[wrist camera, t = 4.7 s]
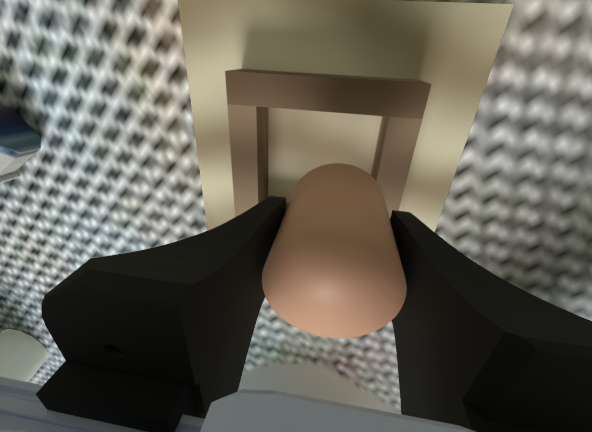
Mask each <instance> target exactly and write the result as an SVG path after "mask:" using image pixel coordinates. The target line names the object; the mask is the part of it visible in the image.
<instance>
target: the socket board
mask: <svg viewBox="0 0 592 432" xmlns="http://www.w3.org/2000/svg"><path fill="white" fill-rule="evenodd" d="M178 4H179V12H180V20H181V28H182V36H183V43H184V51H185V59H186V67H187V74H188V82H189V90H190V98H191V105H192V113H193V121H194V129H195V136H196V144H197V152H198V160H199V167H200V175H201V183H202V191H203V198H204V206H205V214H206V222H207V229H208V230H210V229H213V228H215V227H217V226H219V225H222V224H224V223H226V222H227V221H229V220H231V219H233V218H235V217H237V216H238V215H240V214H242V213H244V212H245V211H247V210H249V209H250V208H252V207H253V206H255V205H257V204H258V203H260V202H261V201H263V200H264V199H266V198H268V197H270V196H277V197H285V198H286V209H287V206H288V204H289V201H290V199H291V196H292V193H293V191H294V189H295V187H296V185H297V183H298V182H299V181H300V179H301V178H302V177H303V176H304V175H305V174H307V173H308V172H310V171H311V170H313V169H315V168H317V167H319V166H322V165H326V164H333V163H343V164H349V165H353V166H356V167H358V168H360V169H362V170H364V171H366V172H367V173H369V174H370V175H371V176H372V177H373V178H374V179H375V180H376V181H377V183H378V184H379V186H380V188H381V190H382V192H383V195H384V199H385V203H386V206H387V210H388V214H389V218H390V217H391V213H392V210H397V211H405V212H410V213H412V214H413V215H414V216H416V217H417V218H418V219H419V220H420V221H422V222H423V223H424V224H425V225H426V226H428V227H429V228H430V229H431V230H432V231H434V232H435V229H436V226H437V223H438V221H439V218H440V215H441V212H442V209H443V206H444V203H445V200H446V198H447V195H448V192H449V189H450V186H451V183H452V180H453V177H454V175H455V172H456V169H457V166H458V163H459V160H460V157H461V154H462V152H463V149H464V146H465V143H466V140H467V137H468V134H469V131H470V129H471V126H472V123H473V120H474V117H475V114H476V111H477V108H478V106H479V103H480V100H481V97H482V94H483V91H484V88H485V86H486V83H487V80H488V77H489V74H490V71H491V68H492V65H493V63H494V60H495V57H496V54H497V51H498V48H499V45H500V42H501V40H502V37H503V34H504V31H505V28H506V25H507V22H508V19H509V17H510V14H511V11H512V8H513V5H514V4H493V3H462V2H432V1H401V0H178Z"/></svg>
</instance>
